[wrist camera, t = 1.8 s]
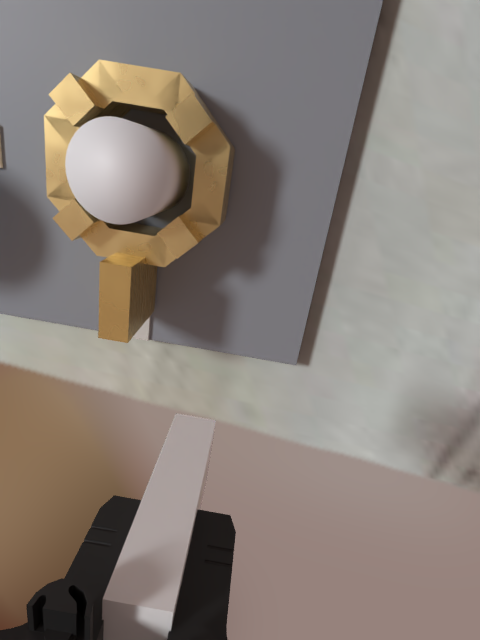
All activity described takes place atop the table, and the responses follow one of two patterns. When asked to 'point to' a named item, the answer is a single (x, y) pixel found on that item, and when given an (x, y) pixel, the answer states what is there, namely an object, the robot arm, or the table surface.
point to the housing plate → (259, 114)
